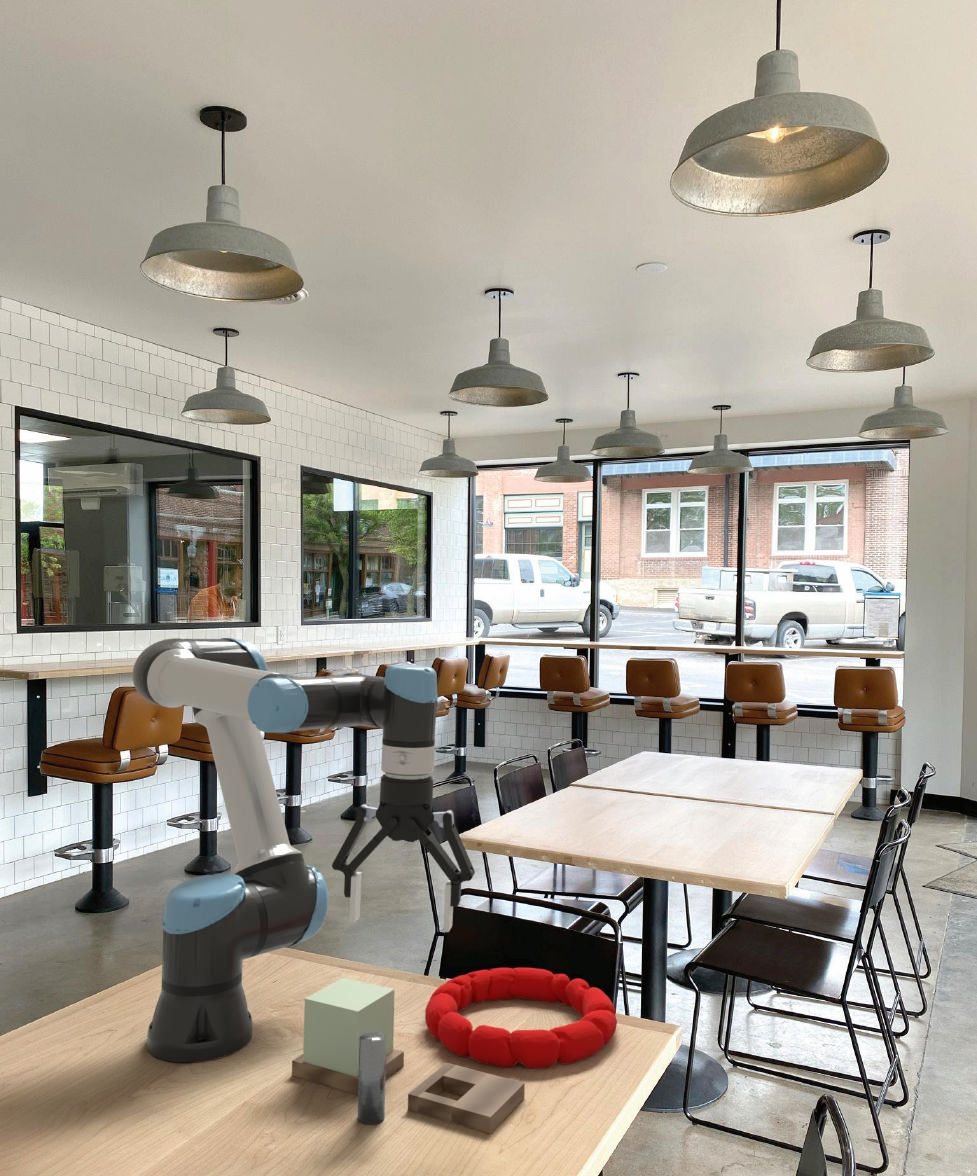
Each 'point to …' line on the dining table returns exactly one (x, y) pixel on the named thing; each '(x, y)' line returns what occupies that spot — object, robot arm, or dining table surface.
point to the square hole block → (467, 1097)
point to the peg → (371, 1078)
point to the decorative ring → (521, 1044)
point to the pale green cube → (345, 1023)
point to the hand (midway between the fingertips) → (400, 924)
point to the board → (341, 1079)
